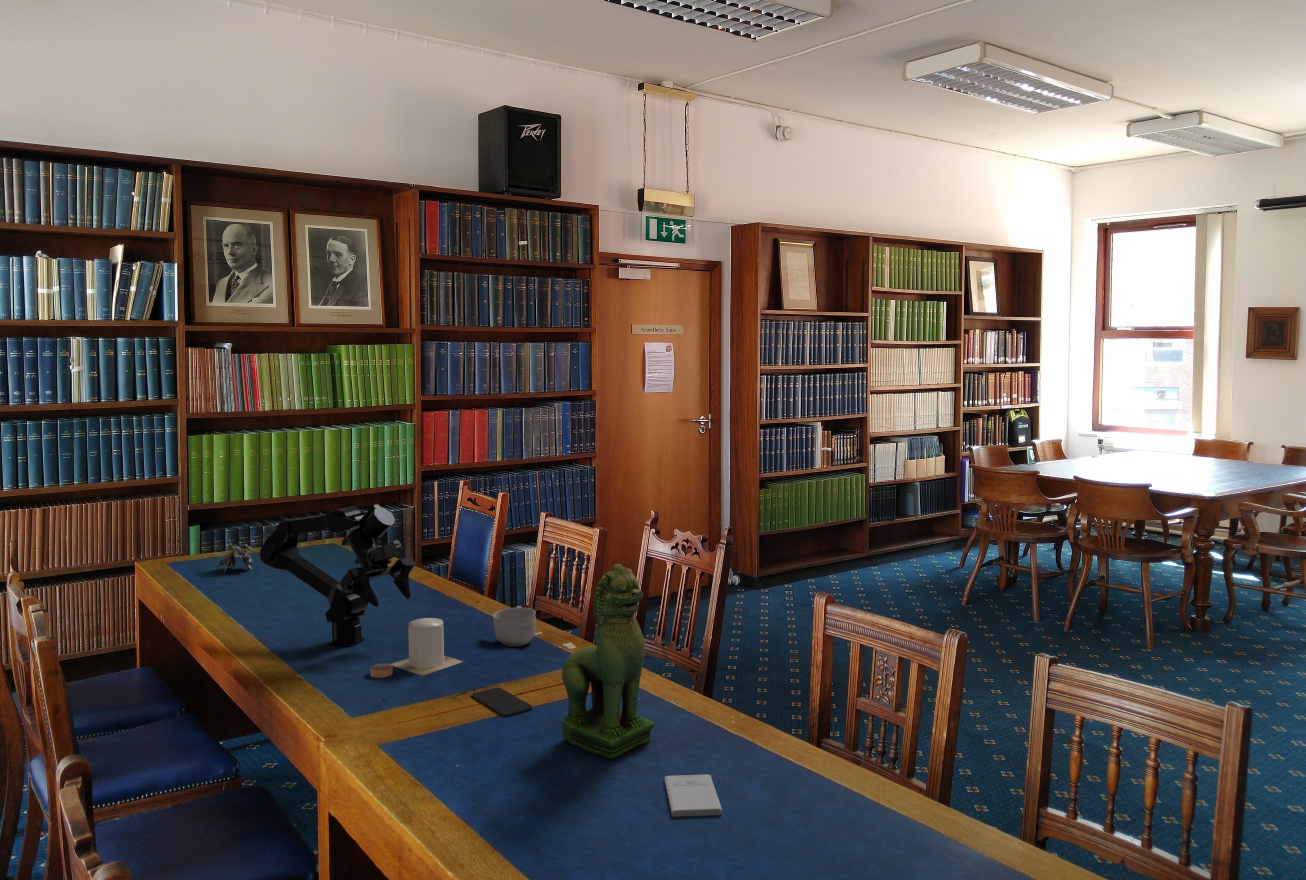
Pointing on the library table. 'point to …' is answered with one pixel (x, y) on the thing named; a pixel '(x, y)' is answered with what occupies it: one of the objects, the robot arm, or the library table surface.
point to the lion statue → (608, 673)
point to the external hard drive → (692, 795)
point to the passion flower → (236, 556)
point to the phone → (502, 702)
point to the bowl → (381, 670)
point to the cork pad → (446, 663)
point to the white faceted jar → (426, 643)
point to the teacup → (515, 626)
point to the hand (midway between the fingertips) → (393, 602)
